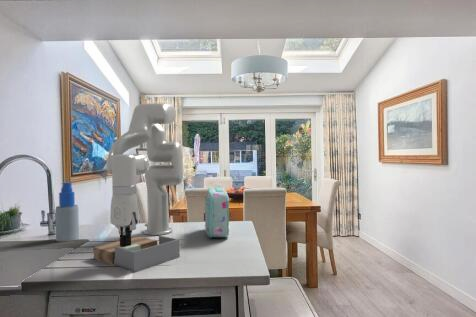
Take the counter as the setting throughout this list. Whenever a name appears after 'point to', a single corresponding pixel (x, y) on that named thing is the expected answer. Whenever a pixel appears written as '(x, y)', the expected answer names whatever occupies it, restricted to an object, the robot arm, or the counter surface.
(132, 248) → the sage tile
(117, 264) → the box
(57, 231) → the spray bottle
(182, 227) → the counter surface
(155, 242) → the tan wooden board
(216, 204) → the lunch box
